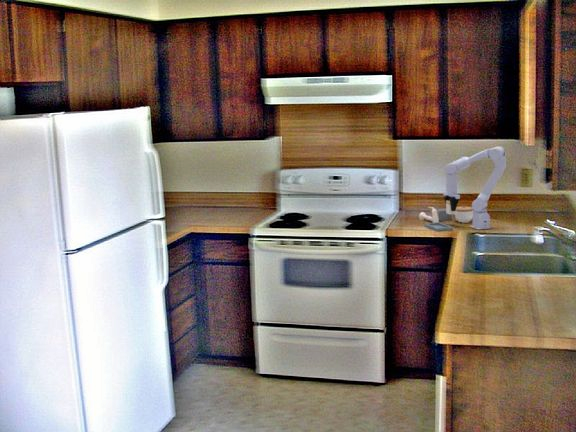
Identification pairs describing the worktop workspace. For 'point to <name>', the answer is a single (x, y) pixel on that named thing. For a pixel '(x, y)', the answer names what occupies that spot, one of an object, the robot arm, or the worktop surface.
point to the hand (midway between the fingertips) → (451, 210)
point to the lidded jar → (464, 214)
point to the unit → (443, 215)
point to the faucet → (433, 218)
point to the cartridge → (449, 208)
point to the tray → (438, 226)
